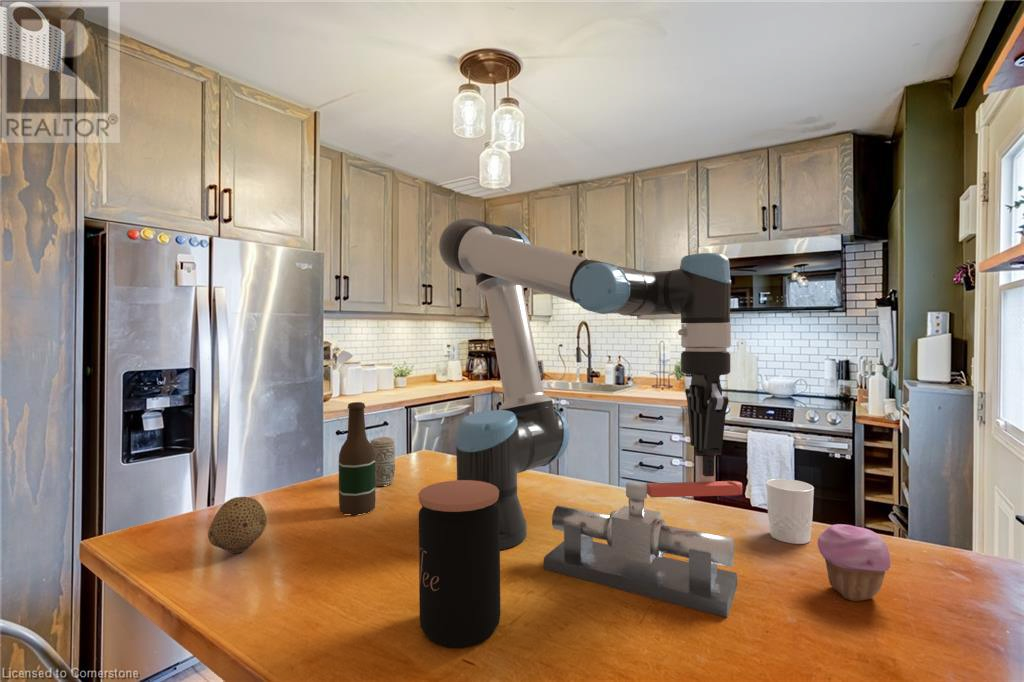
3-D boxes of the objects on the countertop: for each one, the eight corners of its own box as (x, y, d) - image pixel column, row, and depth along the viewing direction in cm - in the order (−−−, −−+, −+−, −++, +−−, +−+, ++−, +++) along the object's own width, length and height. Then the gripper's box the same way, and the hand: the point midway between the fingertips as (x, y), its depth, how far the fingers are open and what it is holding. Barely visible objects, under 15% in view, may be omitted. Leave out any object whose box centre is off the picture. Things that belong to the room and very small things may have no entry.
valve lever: (629, 499, 77) (629, 488, 77) (623, 493, 81) (623, 482, 81) (746, 496, 78) (746, 485, 78) (736, 490, 82) (736, 479, 82)
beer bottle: (382, 508, 112) (381, 402, 112) (355, 519, 106) (354, 406, 106) (359, 502, 117) (358, 399, 116) (331, 512, 110) (330, 403, 110)
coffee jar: (423, 607, 71) (422, 481, 71) (498, 602, 72) (497, 478, 72) (415, 654, 60) (413, 506, 60) (503, 649, 61) (501, 503, 61)
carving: (382, 489, 126) (382, 442, 126) (362, 485, 130) (362, 439, 130) (401, 483, 131) (400, 438, 131) (381, 479, 136) (380, 435, 136)
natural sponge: (275, 552, 90) (274, 497, 90) (220, 569, 83) (219, 510, 83) (256, 538, 96) (255, 487, 96) (203, 553, 89) (203, 498, 89)
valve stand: (544, 569, 82) (543, 493, 82) (569, 547, 91) (569, 478, 91) (727, 617, 68) (726, 525, 68) (737, 586, 76) (736, 504, 76)
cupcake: (806, 579, 78) (806, 515, 78) (863, 579, 78) (863, 515, 78) (842, 610, 69) (842, 538, 69) (906, 611, 69) (906, 539, 69)
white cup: (821, 547, 90) (820, 492, 90) (773, 544, 91) (773, 489, 91) (804, 530, 97) (804, 479, 97) (761, 527, 99) (760, 477, 99)
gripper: (670, 348, 88) (670, 482, 88) (695, 351, 75) (695, 507, 75) (713, 348, 88) (713, 482, 88) (746, 351, 75) (746, 507, 75)
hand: (705, 493), depth 82 cm, fingers closed
